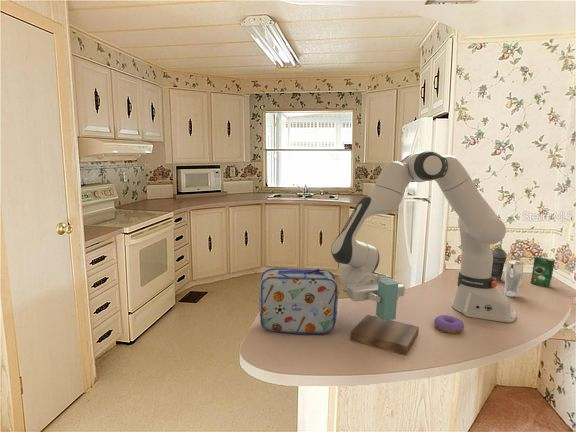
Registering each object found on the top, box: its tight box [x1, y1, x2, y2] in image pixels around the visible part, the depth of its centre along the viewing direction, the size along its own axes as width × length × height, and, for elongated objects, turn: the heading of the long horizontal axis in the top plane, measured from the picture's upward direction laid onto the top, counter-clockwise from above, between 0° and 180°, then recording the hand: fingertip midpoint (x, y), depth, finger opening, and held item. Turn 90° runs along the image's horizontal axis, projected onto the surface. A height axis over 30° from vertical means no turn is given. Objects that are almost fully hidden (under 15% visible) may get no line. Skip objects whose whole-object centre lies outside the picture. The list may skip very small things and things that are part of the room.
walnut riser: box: [350, 314, 420, 356], centre depth 133 cm, size 18×16×3 cm
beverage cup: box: [491, 239, 507, 282], centre depth 196 cm, size 7×7×20 cm
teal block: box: [375, 278, 398, 321], centre depth 131 cm, size 4×4×12 cm
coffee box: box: [530, 256, 556, 288], centre depth 190 cm, size 8×3×13 cm, turn 43°
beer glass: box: [502, 259, 524, 299], centre depth 175 cm, size 7×7×15 cm
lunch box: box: [258, 267, 340, 335], centre depth 136 cm, size 28×10×22 cm, turn 91°
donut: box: [433, 314, 465, 335], centre depth 141 cm, size 10×9×5 cm
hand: (388, 299), depth 130 cm, fingers closed on teal block, 4 cm apart
